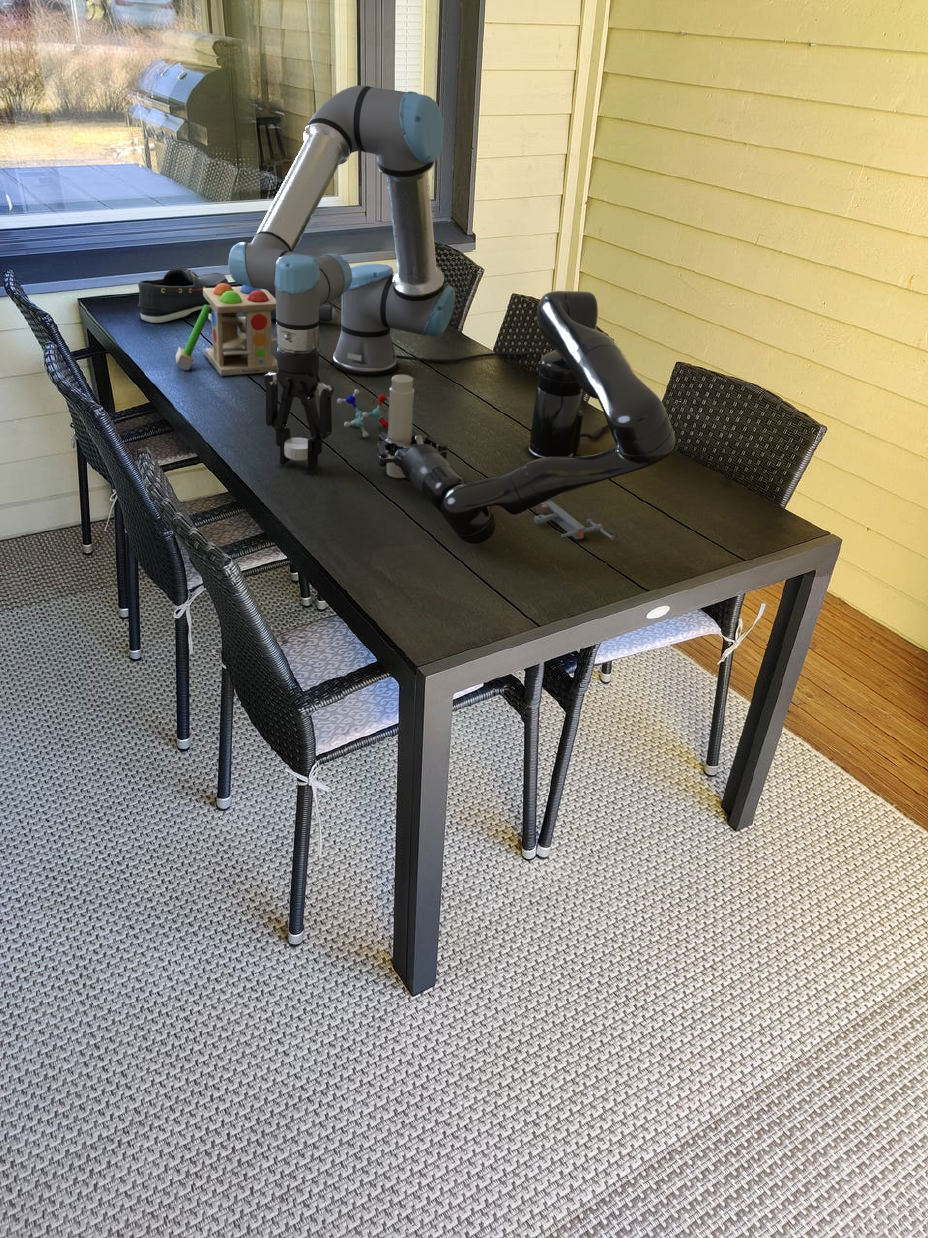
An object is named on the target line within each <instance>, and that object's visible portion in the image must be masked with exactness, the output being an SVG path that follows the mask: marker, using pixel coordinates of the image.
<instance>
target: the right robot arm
mask: <svg viewBox="0 0 928 1238" xmlns="http://www.w3.org/2000/svg"><path fill="white" fill-rule="evenodd" d="M536 309H537V310H536V320H537V325H538V329H539V331H540V334H541V335H542V337H543V338H544V340H545V341H546V342H547V343H548V344H549V345H550V346H551V347H552V348H553V349H554V350H552V351H550V352H547V353H546V354H543V355H544V356H543V357H541V358H540V362H539V369H538V376H537V383H536V384H537V385H536V391H535V392H536V393H535V400H534V406H533V407H534V408H533V413H532V423H531V428H530V432H529V435H530V438H529V444H528V448H527V450H528V453H529V454H530V455H531V456H532V457H534V458H536V459H533V460H531V461H529V462H527V463H525V464H522V465H520V466H519V467H516V468H514V469H512V470H510V471H508V472H506V473H505V474H504V473H503V474H501V475H497V476H491V477H486V478H481V479H476V480H471V481H465V480H464V478H463V476H461V475H460V474H459V473H458V472H457V471H456V470H455V468H454V467H453V466H452V464H451V463H450V462H449V460H447V456H448V445H447V444H445V443H443V442H441V441H440V440H438V439H436V438H434V437H433V436H431V435H425V436H424V437H422V435H418V434H417V433H416V432H415V431H413V430H412V443H411V445H405V444H403V443H401V442H399V441H396V442H395V441H393V440H391V438H390V437H389V436H388V433H387V432H385V431H380V432H379V434H378V440H377V442H376V443H377V444H376V456H377V461H378V464H379V467H382V468H383V467H384V468H385V467H387V463H394V464H395V465H396V466H399V467H400V468H401V470H402V472H403V474H404V475H405V477H404V478H406V479H407V480H408V482H409V483H410V484H411V485H412V486H413V487H414V488H415V490H417V492H418V493H419V494H421V495H422V496H423V497H424V498H426V499H427V500H428V501H429V503H430V504H431V505H432V506H433V507H434V508H435V509H436V510H437V511H438V512H439V513H440V514H441V515H442V517H443V518H444V519H445V520H446V522H447V523H448V525H449V526H450V527H451V529H452V531H454V533H455V534H456V535H457V537H458V538H459V540H461V541H462V542H465V543H466V544H470V545H479V544H480V545H481V544H482V543H485V542H487V541H488V540H489V539H491V537H492V536H493V534H494V532H495V531H496V518H495V515H494V513H493V511H492V509H491V508H490V507H495V506H497V507H498V506H499V507H500V508H502V509H503V510H505V511H506V512H507V513H508V514H510V515H513V516H516V515H520V514H522V513H524V512H526V511H528V510H530V509H533V508H534V507H537V505H539V504H541V503H543V502H546V501H550V500H551V499H554V498H556V497H559V496H561V495H563V494H565V493H569V492H572V491H574V490H576V489H580V488H583V487H587V486H590V485H594V484H597V483H600V482H604V481H607V480H611V479H614V478H617V477H620V476H624V475H627V474H630V473H634V472H636V471H640V470H642V469H646V468H648V467H651V466H654V465H656V464H658V463H659V462H661V461H663V460H664V459H665V458H667V457H668V456H669V455H671V454H672V452H673V450H674V448H675V446H676V444H677V443H676V442H677V437H676V433H675V431H674V428H673V426H672V423H671V421H670V417H669V415H668V413H667V410H666V407H665V406H664V403H663V402H662V400H661V399H660V397H659V396H658V395H657V394H656V393H655V392H654V391H653V390H652V389H651V388H650V387H649V386H648V385H647V384H646V383H644V382H643V381H642V379H640V378H639V377H638V376H637V375H636V373H635V372H634V370H633V367H632V365H631V364H630V362H629V360H628V359H627V357H626V355H625V354H624V352H623V351H622V350H621V348H620V347H619V346H618V344H617V343H616V341H614V340H613V339H612V338H611V337H610V336H608V335H606V334H605V333H603V332H601V331H599V330H597V325H598V316H599V305H598V300H597V297H596V296H595V294H594V293H592V292H590V291H579V290H578V291H577V290H554V291H549V292H546V293H545V294H543V296H541V298H540V299H539V301H538V305H537V308H536ZM583 392H584V393H585V394H586V395H587V396H588V397H590V398H592V399H594V400H597V401H598V403H599V405H600V407H601V409H602V412H603V415H604V417H605V421H606V423H607V424H606V425H604V426H602V427H601V428H600V429H598V431H596V433H595V434H591V433H583V432H581V430H582V424H583V418H584V413H583V411H581V406H582V397H583ZM607 429H608V430H609V431H610V433H611V436H612V438H613V440H614V442H615V446H613V447H610V448H609V449H607V450H605V451H602V452H598V453H596V454H595V453H594V454H589V455H581V456H580V455H578V450H579V448H580V444H581V438H589V439H594V440H595V439H597V438H598V437H599V436H600V435H601V434H602V433H603V432H604V431H605V430H607ZM391 446H392V449H391ZM577 455H578V456H577Z"/></svg>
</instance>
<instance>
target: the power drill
mask: <svg viewBox="0 0 928 1238" xmlns="http://www.w3.org/2000/svg"><path fill="white" fill-rule="evenodd" d="M337 317H338V312H337V311H336V308H334V307H333V306H332V305H331V304H323V305H322V306H319V322H332V321H333V320H334V319H336V318H337ZM276 318H277V315H276V310H271V319H274V320H276Z"/></svg>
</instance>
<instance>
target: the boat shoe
mask: <svg viewBox="0 0 928 1238" xmlns="http://www.w3.org/2000/svg"><path fill="white" fill-rule="evenodd" d="M221 283H226V284H228V285H230V282H229V280H228V279H227V277H226V276H225V274H223V273H220V272H211V273H205V274H201V275H198V274H197V273H195V272H194V271H192V270H190V269H189V268H182V267H180V266H176V267H173V268H171V269H170V270H168V271H167V272H166V273H165V274H164V276H163V277H162V278H158V279H143V280H139V281H138V282H137V285H138V286H137V287H138V293H139V294H138V295H139V296H138V301H139V302H138V303H137V307H139V308H140V319H141V320H143V321H145V322H148V323H152V324H158V323H160V324H161V323H166V322H170V321H173V320H177V319H181V318H184V317H187V316H188V315H190V314H191V313H193V312H196V311H199V310H202V309H203V307H204V305H208V306H210V307H211V305H210V304H209V302H208V301H207V300H206V299H205V297H204V296H203V289H204V288H215V287H216V286H217V285H218V284H221Z"/></svg>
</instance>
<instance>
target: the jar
mask: <svg viewBox="0 0 928 1238" xmlns="http://www.w3.org/2000/svg"><path fill="white" fill-rule="evenodd" d="M414 405H415V388H414V377H412V376H410V375H409V374H395V375H393V376H392V377H391V386H390V387H389V400H388V421H387V422H388V428H387V435H388V436H389V437H390V438H391V440H393V441H395V442H396V441H399V442H401V443H403V444H405V445H411V443H412V431H413V425H414V424H413V423H414V408H415V407H414ZM391 449H392V446H391ZM385 472H386V474H387V475H388V476H389V477H391V478H394V479H404V478H406V477H405V475H404V474H403V472H402V470H401V468H400V467H399V466H396V465H395V464H394V463H386V471H385Z"/></svg>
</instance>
